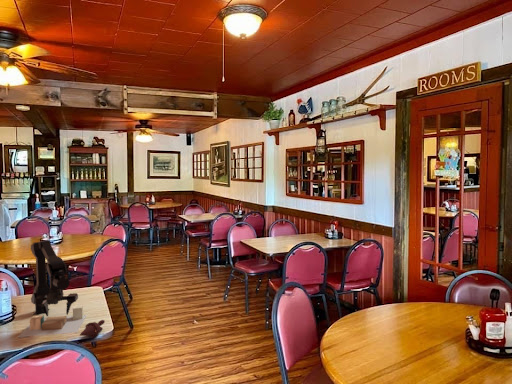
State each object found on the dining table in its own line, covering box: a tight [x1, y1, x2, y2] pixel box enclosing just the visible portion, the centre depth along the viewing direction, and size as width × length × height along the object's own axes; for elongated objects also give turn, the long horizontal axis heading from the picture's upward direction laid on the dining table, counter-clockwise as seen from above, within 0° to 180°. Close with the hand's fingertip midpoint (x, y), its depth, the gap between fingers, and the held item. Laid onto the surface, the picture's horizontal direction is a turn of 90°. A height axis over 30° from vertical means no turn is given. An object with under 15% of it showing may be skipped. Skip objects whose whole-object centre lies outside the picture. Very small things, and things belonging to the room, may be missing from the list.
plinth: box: [42, 315, 67, 330], centre depth 193 cm, size 9×9×3 cm
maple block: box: [29, 314, 45, 330], centre depth 191 cm, size 5×5×5 cm
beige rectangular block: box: [72, 304, 84, 320], centre depth 203 cm, size 4×4×6 cm
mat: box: [17, 314, 88, 339], centre depth 194 cm, size 22×26×1 cm
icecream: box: [79, 319, 105, 338], centre depth 182 cm, size 7×7×15 cm
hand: (57, 315), depth 193 cm, fingers open, 9 cm apart
